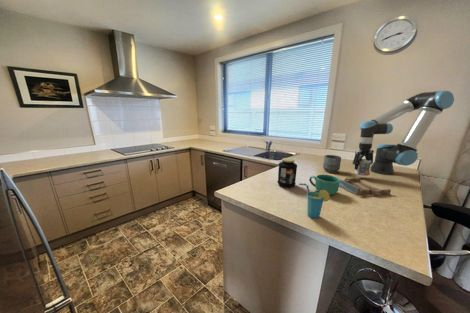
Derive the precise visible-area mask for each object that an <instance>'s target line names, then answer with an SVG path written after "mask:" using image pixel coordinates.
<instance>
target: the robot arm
mask: <svg viewBox="0 0 470 313" xmlns="http://www.w3.org/2000/svg"><path fill="white" fill-rule="evenodd" d="M454 101H455V96H454V94H453V93H452V92H451V91H449V90H437V91H428V92H427V91H426V92H425V91H424V92H420V93H417V94H415V95H413V96H410V97H409V98H407V99H405V100H403V101H402V102H401V103H400V104H399V105H397V106H395V107H393V108H392V109H389V110H388V111H386V112H383V113H382V114H380V115H378V116H376V117H375V118H373V119H371V120H364V121H363V120H362V122H361V123H360V125H359V130H360V136H359V144H358V148H359V150H355V152H354V153H355V154H354V158H353V161H352V165H354V174H356V175H359V174H358V173H359V161H361V159H366V160H368V161H369V160H371V161H372V163H371V165H370V167H369V171H371V172H373V173H375V174H380V175H394V172H395V169H394V165H393V164H397V165H399V166H410V165H413V164H414V163H415V162H416V161H417V160H418V158H419V153H418V152H417V151H418V148H417V146H418V145H419V143H420V142H421V141H422V139H423V137H424V135H425V133H426V132H427V131H428V129H429V127H430V126H431V124H433V121H434V120H435V118H436V116H437V115H440V114H441V113H443V111H444V110H446V109H447V110H448V109H449V108H451V107H452V106H453V104H454ZM416 110H417V111H418V110H419V113H418V114H417V116H416V117H415V120H414V121H413V123H412V124H411V126H410V127H409V129H408V131H407V133H406V134H405V135H404V137H403V139H402V140H401V142H397V144H394V143H393V144H391V143H381V144H377V146H376V147H377V148H376V151H375V152H374V150H373V149H372V147H373V141H374V135H389V134H391V133H392V132H393V129H394V126H393V124H391V123H390V122H392V121H394V120H395V119H398V118H399V117H401V116H403V115H405V114H406V113H411V112H413V111H416ZM374 153H375V157H374ZM364 157H365V158H364Z"/></svg>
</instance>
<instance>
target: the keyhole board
mask: <svg viewBox="0 0 470 313" xmlns="http://www.w3.org/2000/svg"><path fill="white" fill-rule="evenodd" d="M338 179H339V180H340V183H339V188H341V189H343V190H345V191H347V192H349V193H351V194H352V195H355V196H356V197H359V198H360V199H362V198H370V197H378V196H380V197H381V196H388V195H391V192H392V190H391V189H390V188H385V189H381V188H378V187H376V186H373V185H371V184H368V183H365V182H364V181H362V177H360V176H358V177H351V178H350V177H349V178H344V180H343V179H340V178H338Z"/></svg>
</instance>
